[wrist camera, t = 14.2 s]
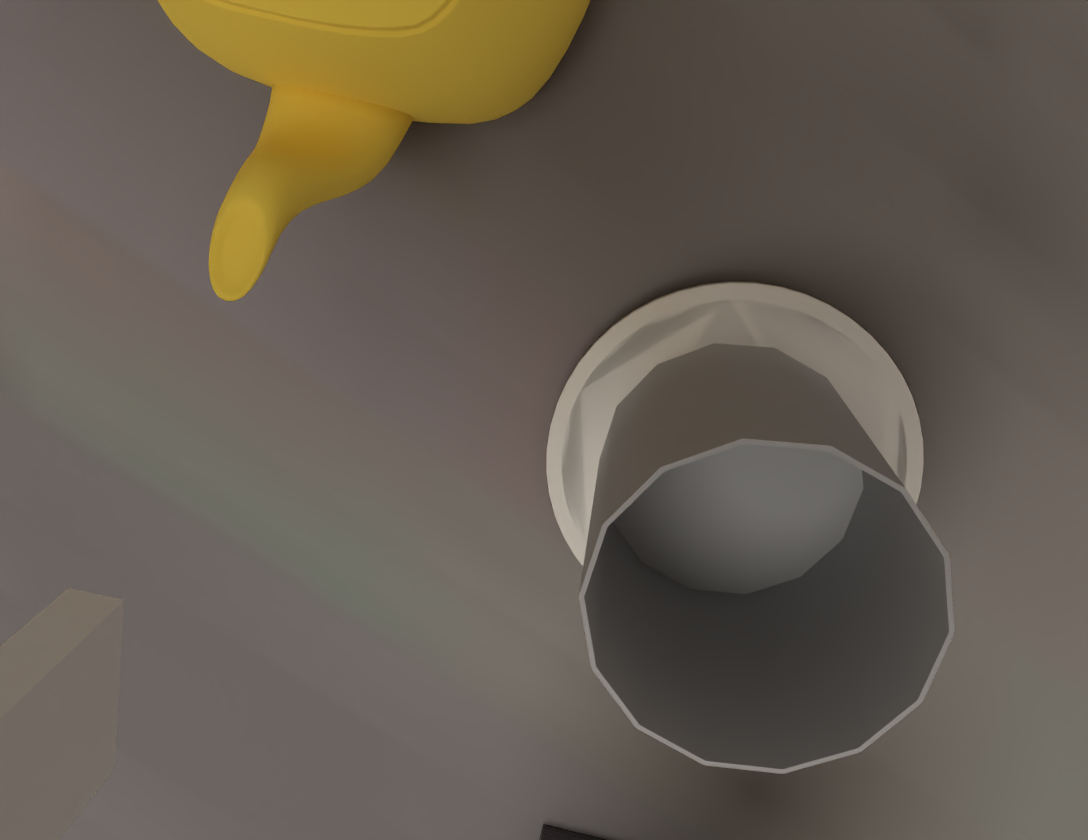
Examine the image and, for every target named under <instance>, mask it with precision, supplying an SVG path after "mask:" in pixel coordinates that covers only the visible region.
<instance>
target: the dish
mask: <svg viewBox="0 0 1088 840" xmlns="http://www.w3.org/2000/svg"><path fill="white" fill-rule="evenodd" d="M713 343H718V344H731V345H744V346H758V347H771V348H776V349H778V350H780V351H781V352H783V353H785V354H787V355H788V356H790V357H792V358H794V359H795V360H797V361H799V362H801V363H802V364H804V365H806V366H807V367H809V368H811V369H813V370H814V371H816V372H818V373H820V374H821V375H823V376H825V377H827V379H828V380H829V381H830V383H831V384H832V386H833V387H834V388H835V390H836V391H837V393H838V394H839V395H840V397H841V398H842V400H843V401H844V402H845V404H846V405H847V407H848V408H849V409H850V411H851V412H852V414H853V415H854V416H855V418H856V419H857V421H858V422H859V423H860V425H861V426H862V428H863V429H864V430H865V432H866V433H867V435H868V436H869V438H870V439H871V440H872V442H873V443H874V445H875V446H876V447H877V449H878V450H879V452H880V453H881V454H882V456H883V457H884V459H885V460H886V461H887V463H888V464H889V466H890V467H891V468H892V470H893V471H894V473H895V474H896V475H897V477H898V478H899V480H900V481H901V482H902V484H903V485H904V487H905V488H906V489H907V491H908V493H909V494H910V496H911V497H912V499H913V500H914V502H915V503H916V504H917V501H918V497H919V493H920V490H921V482H922V474H923V466H924V460H923V438H922V432H921V426H920V420H919V416H918V413H917V410H916V407H915V403H914V400H913V397H912V395H911V393H910V390H909V388H908V386H907V384H906V382H905V380H904V378H903V376H902V374H901V373H900V371H899V370H898V368H897V367H896V365H895V364H894V362H893V361H892V359H891V358H890V356H889V355H888V353H887V352H886V351H885V350H884V349H883V348H882V347H881V346H880V345H879V344H878V342H877V341H876V340H875V339H874V338H873V337H872V336H871V335H870V334H869V333H868V332H867V331H866V330H864V329H863V328H862V327H861V326H859V325H858V324H857V323H856V322H855V321H853V320H852V319H851V318H850V317H849V316H847V315H845V314H844V313H842V312H841V311H839V310H837V309H836V308H834V307H832V306H831V305H829V304H828V303H825V302H823V301H821V300H819V299H816V298H814V297H812V296H810V295H807V294H805V293H802V292H799V291H795V290H792V289H789V288H785V287H782V286H777V285H770V284H764V283H758V282H732V281H729V282H719V283H709V284H702V285H698V286H694V287H689V288H685V289H681V290H678V291H675V292H672V293H670V294H667V295H664V296H662V297H659V298H656V299H654V300H652V301H650V302H648V303H647V304H645V305H643V306H641V307H639V308H637V309H635V310H633V311H632V312H631V313H629V314H628V315H626V316H625V317H624V318H622V319H621V320H619V321H618V322H616V323H615V324H614V325H612V326H611V327H610V328H609V329H608V330H607V331H606V332H605V333H604V334H603V335H602V336H601V337H600V338H598V339H597V340H596V341H595V342H594V344H593V345H592V346H591V347H590V348H589V350H588V351H587V352H586V353H585V355H584V356H583V357H582V358H581V359H580V361H579V362H578V364H577V366H576V367H575V369H574V370H573V372H572V374H571V375H570V377H569V378H568V380H567V382H566V385H565V387H564V389H563V391H562V393H561V396H560V398H559V400H558V403H557V406H556V409H555V413H554V416H553V419H552V423H551V426H550V432H549V439H548V445H547V480H548V488H549V495H550V499H551V503H552V507H553V510H554V514H555V517H556V520H557V522H558V524H559V527H560V529H561V532H562V534H563V536H564V538H565V540H566V542H567V543H568V545H569V547H570V548H571V550H572V552H573V554H574V555H575V557H576V558H577V559H578V561H579V562H580V563H581V565H582V566H583V564H584V558H585V551H586V545H587V538H588V531H589V525H590V518H591V512H592V505H593V499H594V492H595V485H596V479H597V472H598V466H599V459H600V456H601V453H602V450H603V447H604V443H605V440H606V437H607V434H608V431H609V428H610V425H611V422H612V419H613V416H614V413H615V409H616V406H617V405H618V404H619V403H620V402H621V401H622V400H623V399H624V398H625V397H626V396H627V395H628V394H629V393H630V392H631V391H632V390H633V389H634V388H635V387H636V386H637V385H638V384H639V383H640V382H641V381H642V380H643V378H644V377H645V376H646V375H647V374H648V373H649V372H650V371H651V370H652V369H653V368H654V367H655V366H656V365H657V364H660V363H662V362H665V361H668V360H670V359H673V358H676V357H678V356H681V355H684V354H686V353H689V352H692V351H694V350H697V349H700V348H702V347H705V346H708V345H710V344H713Z"/></svg>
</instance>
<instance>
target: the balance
mask: <svg viewBox="0 0 1088 840" xmlns="http://www.w3.org/2000/svg"><path fill="white" fill-rule="evenodd" d="M539 840H603V839H599V838H595V837H591V836H587V835H583V834H579V833H575V832H570V831H566V830H562V829H558V828H554V827H550V826H546V825H543V827H542V831H541V835H540V839H539Z"/></svg>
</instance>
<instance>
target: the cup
mask: <svg viewBox="0 0 1088 840" xmlns="http://www.w3.org/2000/svg"><path fill="white" fill-rule="evenodd" d="M579 601H580V607H581V613H582V618H583V624H584V630H585V636H586V641H587V647H588V653H589V659H590V664H591V669H592V670H593V672H594V673H595V674H596V676H597V677H598V678H599V680H600V681H601V682H602V684H603V685H604V686H605V688H606V689H607V690H608V692H609V693H610V694H611V696H612V697H613V698H614V700H615V701H616V702H617V704H618V705H619V706H620V708H621V709H622V710H623V712H624V713H625V714H626V716H627V717H628V718H629V720H630V721H631V722H632V724H633V725H634V726H635V728H637V729H638V730H640V731H642V732H644V733H646V734H648V735H649V736H651V737H653V738H655V739H657V740H659V741H660V742H662V743H664V744H666V745H668V746H670V747H671V748H673V749H675V750H677V751H679V752H681V753H682V754H684V755H686V756H688V757H690V758H692V759H693V760H695V761H697V762H699V763H701V764H703V765H706V766H716V767H725V768H734V769H743V770H752V771H761V772H770V773H779V774H785V773H788V772H792V771H795V770H799V769H803V768H806V767H810V766H813V765H817V764H820V763H824V762H828V761H831V760H835V759H838V758H842V757H845V756H849V755H853V754H856V753H860V752H862V751H863V750H864V749H865V748H867V747H868V746H869V745H870V744H872V743H873V742H874V741H875V740H877V739H878V738H879V737H880V736H881V735H883V734H884V733H885V732H886V731H888V730H889V729H890V728H891V727H893V726H894V725H895V724H896V723H898V722H899V721H900V720H901V719H903V718H904V717H905V716H906V715H907V714H909V713H910V712H911V711H912V710H914V709H915V708H916V707H917V706H919V705H920V704H921V703H922V702H923V700H924V698H925V696H926V694H927V691H928V689H929V687H930V685H931V683H932V681H933V679H934V676H935V674H936V672H937V670H938V668H939V666H940V664H941V661H942V659H943V657H944V655H945V653H946V651H947V649H948V646H949V644H950V642H951V640H952V638H953V636H954V634H955V627H954V612H953V597H952V582H951V567H950V555H949V554H948V552H947V551H946V549H945V548H944V546H943V545H942V543H941V542H940V540H939V539H938V537H937V536H936V534H935V532H934V531H933V529H932V528H931V526H930V525H929V523H928V522H927V520H926V519H925V517H924V516H923V514H922V512H921V511H920V509H919V508H918V506H917V505H916V503H915V502H914V500H913V499H912V497H911V496H910V494H909V493H908V491H907V489H906V488H905V487H904V485H903V484H902V482H901V481H900V480H899V478H898V477H897V475H896V474H895V473H894V471H893V470H892V468H891V467H890V466H889V464H888V463H887V461H886V460H885V459H884V457H883V456H882V454H881V453H880V452H879V450H878V449H877V447H876V446H875V445H874V443H873V442H872V440H871V439H870V438H869V436H868V435H867V433H866V432H865V430H864V429H863V428H862V426H861V425H860V423H859V422H858V421H857V419H856V418H855V416H854V415H853V414H852V412H851V411H850V409H849V408H848V407H847V405H846V404H845V402H844V401H843V400H842V398H841V397H840V395H839V394H838V393H837V391H836V390H835V388H834V387H833V386H832V384H831V383H830V381H829V380H828V379H827V377H825V376H823V375H821V374H820V373H818V372H816V371H814V370H813V369H811V368H809V367H807V366H806V365H804V364H802V363H801V362H799V361H797V360H795V359H794V358H792V357H790V356H788V355H787V354H785V353H783V352H781V351H780V350H778V349H776V348H771V347H758V346H744V345H731V344H718V343H713V344H710V345H708V346H705V347H702V348H700V349H697V350H694V351H692V352H689V353H686V354H684V355H681V356H678V357H676V358H673V359H670V360H668V361H665V362H662V363H660V364H657V365H656V366H655V367H654V368H653V369H652V370H651V371H650V372H649V373H648V374H647V375H646V376H645V377H644V378H643V380H642V381H641V382H640V383H639V384H638V385H637V386H636V387H635V388H634V389H633V390H632V391H631V392H630V393H629V394H628V395H627V396H626V397H625V398H624V399H623V400H622V401H621V402H620V403H619V404H618V405H617V406H616V409H615V413H614V416H613V419H612V422H611V425H610V428H609V431H608V434H607V437H606V440H605V443H604V447H603V450H602V453H601V456H600V459H599V466H598V472H597V479H596V485H595V492H594V499H593V505H592V512H591V518H590V525H589V531H588V538H587V545H586V551H585V558H584V564H583V571H582V578H581V584H580V591H579Z"/></svg>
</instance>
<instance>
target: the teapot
mask: <svg viewBox="0 0 1088 840" xmlns="http://www.w3.org/2000/svg"><path fill="white" fill-rule="evenodd" d="M158 2H159V3H160V5H161V6H162V8H163V10H164V11H165V13H166V14H167V16H168V17H169V19H170V20H171V22H172V23H173V24H174V25H175V26H176V27H177V28H178V29H179V30H180V32H181V33H182V34H183V35H184V36H185V37H186V38H187V39H188V40H189V41H190V42H191V43H192V44H193V45H194V46H195V47H196V48H197V49H199V50H200V51H202V52H203V53H205V54H206V55H208V56H209V57H211V58H212V59H214V60H215V61H217V62H218V63H220V64H221V65H223V66H225V67H226V68H228V69H229V70H231V71H233V72H235V73H237V74H239V75H242V76H244V77H247V78H249V79H252V80H254V81H257V82H259V83H262V84H264V85H267V86H270V87H272V92H271V98H270V104H269V107H268V111H267V115H266V118H265V122H264V125H263V128H262V131H261V134H260V137H259V140H258V142H257V145H256V147H255V149H254V150H253V152H252V153H251V154H250V156H249V157H248V158H247V160H246V161H245V163H244V164H243V166H242V167H241V169H240V170H239V172H238V174H237V175H236V177H235V179H234V181H233V183H232V185H231V187H230V189H229V191H228V193H227V195H226V197H225V199H224V201H223V203H222V205H221V207H220V210H219V212H218V215H217V218H216V221H215V225H214V228H213V232H212V236H211V243H210V249H209V273H210V281H211V284H212V287H213V290H214V291H215V293H216V294H217V295H218V297H220V298H222V299H223V300H225V301H235V300H237V299H239V298H241V297H243V296H244V295H245V294H246V293H247V292H248V291H249V290H250V289H251V288H252V287H253V286H254V284H255V283H256V281H257V280H258V278H259V277H260V275H261V274H262V272H263V270H264V268H265V266H266V264H267V261H268V259H269V257H270V255H271V253H272V251H273V248H274V246H275V244H276V242H277V240H278V238H279V236H280V234H281V233H282V231H283V230H284V229H285V227H286V226H287V225H288V224H289V222H290V221H291V220H292V219H293V218H294V217H295V216H297V215H298V214H299V213H300V212H301V211H303V210H305V209H307V208H309V207H311V206H313V205H315V204H318V203H321V202H324V201H327V200H331V199H334V198H337V197H341V196H343V195H345V194H348V193H350V192H353V191H355V190H357V189H359V188H361V187H362V186H364V185H365V184H367V183H369V182H370V181H372V180H373V179H374V177H375V176H376V175H377V174H378V173H379V172H380V171H381V170H382V169H383V168H384V167H385V166H386V165H387V164H388V162H389V160H390V159H391V157H392V156H393V154H394V152H395V151H396V149H397V148H398V146H399V144H400V143H401V141H402V139H403V137H404V135H405V134H406V132H407V130H408V128H409V126H410V125H411V123H412V121H418V122H428V123H452V124H474V123H480V122H485V121H491V120H496V119H498V118H500V117H503V116H505V115H507V114H509V113H511V112H514V111H515V110H517V109H518V108H519V107H521V106H522V105H524V104H525V103H526V102H528V101H529V100H530V99H532V98H533V97H534V96H535V94H536V93H537V92H538V91H539V90H540V89H541V87H542V86H543V85H544V84H545V83H546V81H547V80H548V79H549V78H550V77H551V75H552V73H553V72H554V70H555V68H556V67H557V65H558V64H559V62H560V60H561V59H562V57H563V56H564V54H565V52H566V51H567V49H568V47H569V45H570V43H571V41H572V39H573V37H574V35H575V33H576V31H577V29H578V27H579V25H580V23H581V21H582V19H583V17H584V15H585V12H586V10H587V8H588V5H589V3H590V0H158Z"/></svg>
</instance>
